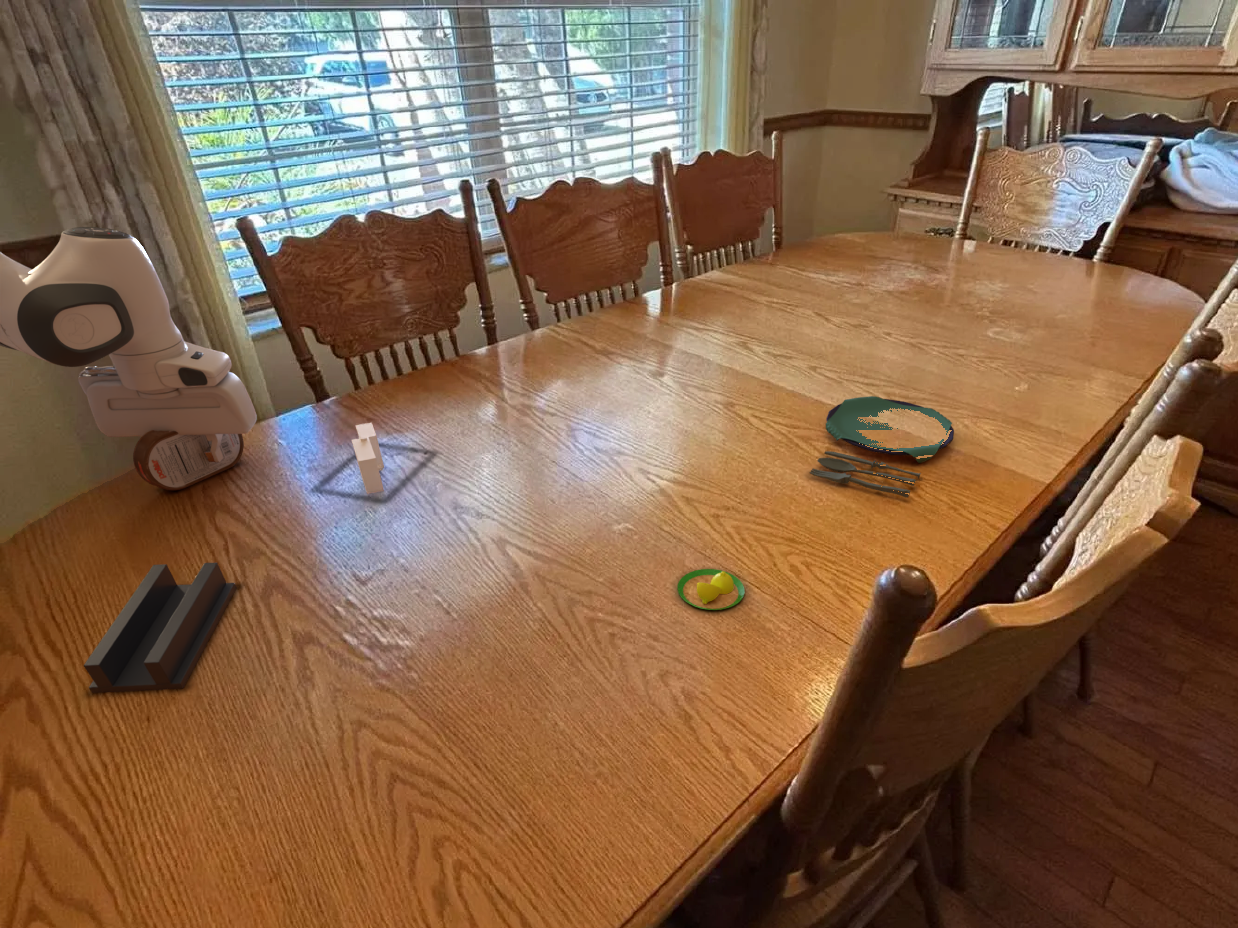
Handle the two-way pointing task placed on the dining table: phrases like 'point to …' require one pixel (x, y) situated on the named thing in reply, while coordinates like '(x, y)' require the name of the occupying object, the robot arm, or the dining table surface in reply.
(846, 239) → the dining table surface
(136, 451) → the tin
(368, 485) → the beige double block
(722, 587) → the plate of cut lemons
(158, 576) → the holder
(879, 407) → the cutlery set
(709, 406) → the dining table surface
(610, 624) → the dining table surface
